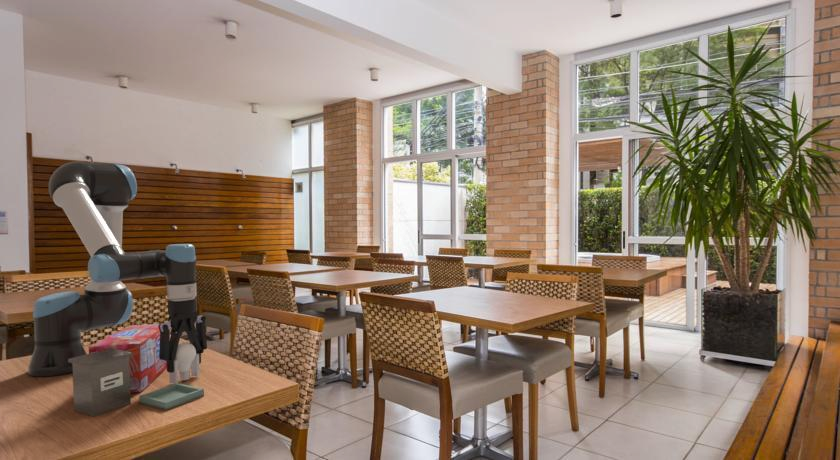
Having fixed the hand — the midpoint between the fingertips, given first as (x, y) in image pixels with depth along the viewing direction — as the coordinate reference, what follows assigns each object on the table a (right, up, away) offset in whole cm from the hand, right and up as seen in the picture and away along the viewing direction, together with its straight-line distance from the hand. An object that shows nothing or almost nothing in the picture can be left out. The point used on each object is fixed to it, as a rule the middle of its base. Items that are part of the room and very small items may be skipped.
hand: (184, 379), depth 142 cm
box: (-16, -1, +3) cm, 16 cm away
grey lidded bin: (-11, -1, -19) cm, 22 cm away
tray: (+4, -1, -14) cm, 15 cm away
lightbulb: (0, -1, 0) cm, 1 cm away
